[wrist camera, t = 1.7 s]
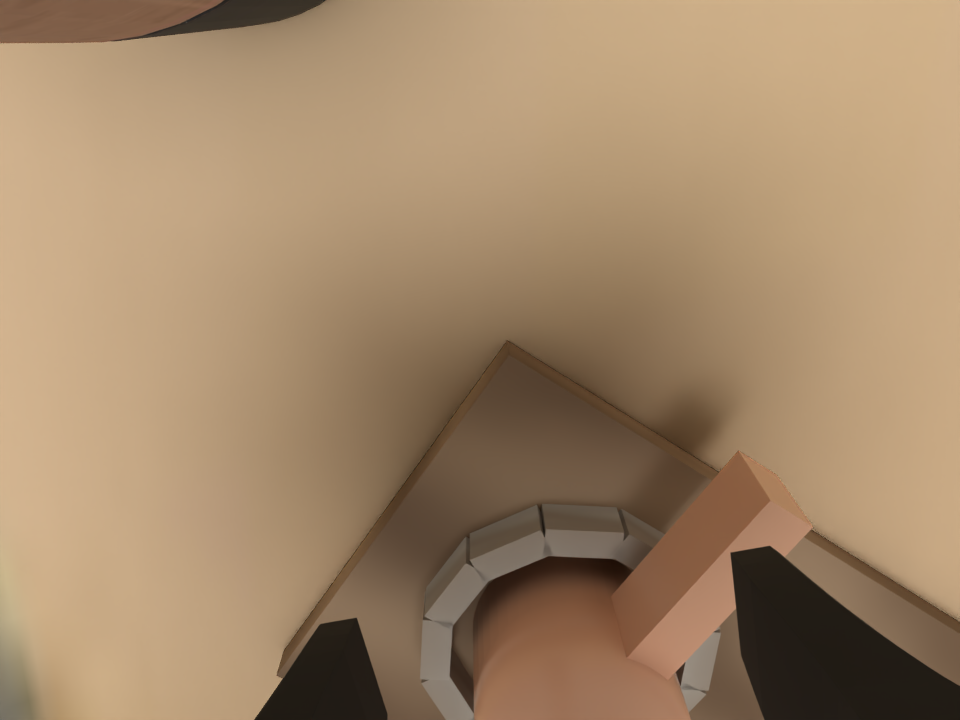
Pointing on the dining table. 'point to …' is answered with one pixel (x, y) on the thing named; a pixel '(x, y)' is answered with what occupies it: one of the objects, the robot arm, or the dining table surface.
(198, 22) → the travel mug
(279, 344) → the dining table surface
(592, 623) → the cylinder with stick handle
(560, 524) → the board
